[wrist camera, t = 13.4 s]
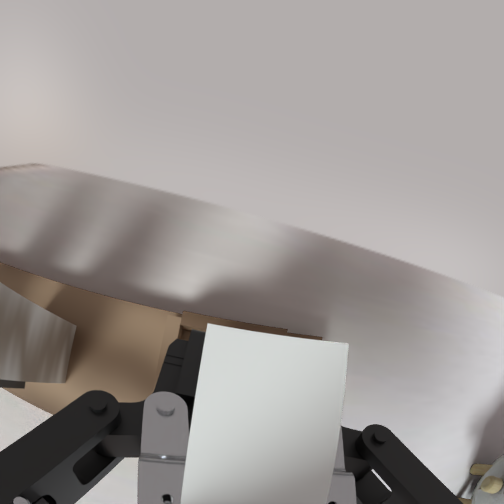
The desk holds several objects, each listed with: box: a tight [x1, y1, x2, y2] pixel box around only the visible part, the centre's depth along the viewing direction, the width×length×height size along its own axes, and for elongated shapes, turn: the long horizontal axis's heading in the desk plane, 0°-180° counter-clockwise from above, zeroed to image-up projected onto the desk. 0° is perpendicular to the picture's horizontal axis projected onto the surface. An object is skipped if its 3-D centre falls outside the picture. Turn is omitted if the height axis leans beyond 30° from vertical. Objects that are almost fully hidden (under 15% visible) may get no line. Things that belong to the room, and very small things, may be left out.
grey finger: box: [180, 323, 349, 504], centre depth 10 cm, size 4×3×11 cm, turn 172°
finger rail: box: [0, 262, 322, 415], centre depth 11 cm, size 9×28×12 cm, turn 82°
